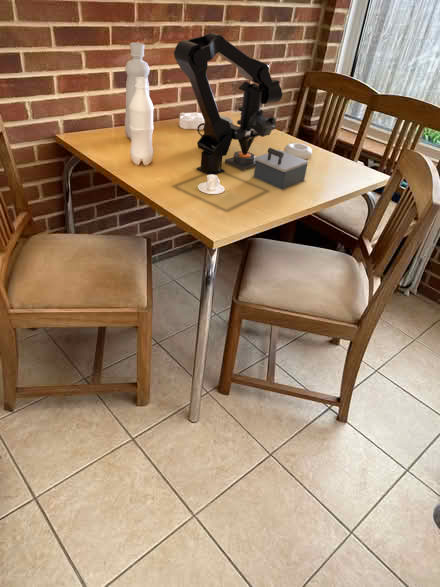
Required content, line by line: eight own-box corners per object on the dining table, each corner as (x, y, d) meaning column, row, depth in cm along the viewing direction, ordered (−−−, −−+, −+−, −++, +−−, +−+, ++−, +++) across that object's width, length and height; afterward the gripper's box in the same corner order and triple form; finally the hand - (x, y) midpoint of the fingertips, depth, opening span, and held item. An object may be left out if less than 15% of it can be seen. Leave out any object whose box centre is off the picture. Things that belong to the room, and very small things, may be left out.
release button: (244, 161, 149) (245, 157, 148) (235, 158, 151) (236, 153, 150) (252, 159, 152) (253, 154, 151) (243, 155, 154) (244, 151, 153)
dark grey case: (282, 190, 139) (286, 171, 135) (253, 177, 144) (256, 159, 141) (303, 181, 146) (307, 163, 142) (275, 169, 152) (278, 152, 148)
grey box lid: (284, 172, 135) (287, 157, 132) (254, 159, 140) (256, 145, 138) (307, 163, 142) (310, 149, 140) (278, 151, 148) (280, 138, 145)
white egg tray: (212, 118, 190) (227, 129, 180) (171, 119, 183) (185, 131, 172) (213, 109, 188) (228, 121, 177) (172, 111, 181) (185, 122, 170)
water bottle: (149, 168, 141) (149, 82, 126) (127, 164, 142) (124, 78, 127) (156, 160, 147) (157, 77, 132) (135, 156, 148) (133, 73, 133)
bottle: (120, 135, 162) (118, 41, 144) (144, 133, 167) (144, 41, 149) (131, 144, 157) (130, 46, 139) (155, 141, 161) (156, 46, 143)
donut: (289, 148, 169) (279, 155, 162) (290, 139, 167) (281, 146, 160) (314, 155, 166) (305, 163, 159) (316, 146, 164) (307, 153, 157)
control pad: (242, 170, 148) (244, 162, 146) (224, 162, 152) (225, 154, 150) (261, 164, 154) (263, 155, 152) (244, 156, 158) (245, 148, 156)
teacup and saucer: (211, 180, 139) (212, 168, 137) (231, 189, 135) (233, 176, 133) (192, 188, 133) (192, 175, 131) (212, 198, 130) (214, 184, 127)
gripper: (252, 116, 131) (244, 168, 141) (289, 108, 143) (280, 156, 152) (223, 106, 137) (218, 156, 146) (262, 99, 149) (255, 146, 158)
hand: (244, 154), depth 151 cm, fingers closed, pressing on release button
